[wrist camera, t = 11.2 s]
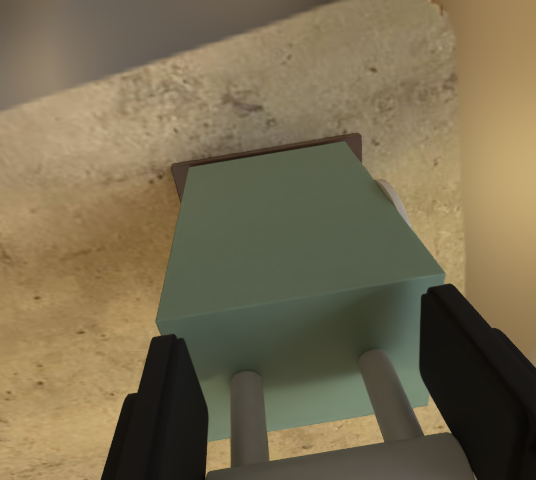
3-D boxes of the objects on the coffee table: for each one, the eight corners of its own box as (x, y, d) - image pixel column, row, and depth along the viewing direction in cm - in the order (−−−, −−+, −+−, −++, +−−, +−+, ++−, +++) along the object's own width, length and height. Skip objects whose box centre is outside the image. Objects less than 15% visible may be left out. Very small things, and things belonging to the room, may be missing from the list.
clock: (187, 163, 20) (112, 487, 7) (350, 135, 20) (578, 410, 7) (214, 264, 23) (198, 604, 10) (353, 241, 23) (509, 554, 10)
